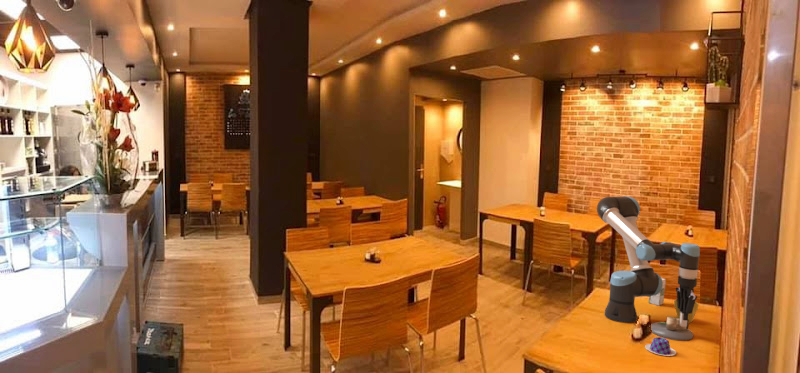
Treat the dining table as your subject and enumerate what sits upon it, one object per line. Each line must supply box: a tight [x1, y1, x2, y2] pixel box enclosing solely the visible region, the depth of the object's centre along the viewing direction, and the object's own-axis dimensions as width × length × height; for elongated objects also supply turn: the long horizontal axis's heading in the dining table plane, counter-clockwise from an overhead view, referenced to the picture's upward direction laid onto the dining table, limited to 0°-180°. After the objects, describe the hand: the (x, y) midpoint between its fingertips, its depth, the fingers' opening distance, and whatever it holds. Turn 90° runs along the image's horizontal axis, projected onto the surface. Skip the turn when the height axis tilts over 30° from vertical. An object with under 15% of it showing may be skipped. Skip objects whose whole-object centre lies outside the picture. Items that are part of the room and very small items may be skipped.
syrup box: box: [648, 277, 667, 306], centre depth 271 cm, size 6×6×14 cm
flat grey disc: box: [651, 321, 694, 342], centre depth 230 cm, size 18×18×2 cm
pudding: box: [644, 336, 677, 357], centre depth 210 cm, size 12×12×5 cm
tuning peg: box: [666, 316, 690, 330], centre depth 230 cm, size 10×4×5 cm, turn 91°
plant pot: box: [673, 298, 699, 323], centre depth 247 cm, size 10×10×10 cm
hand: (683, 325), depth 228 cm, fingers closed
